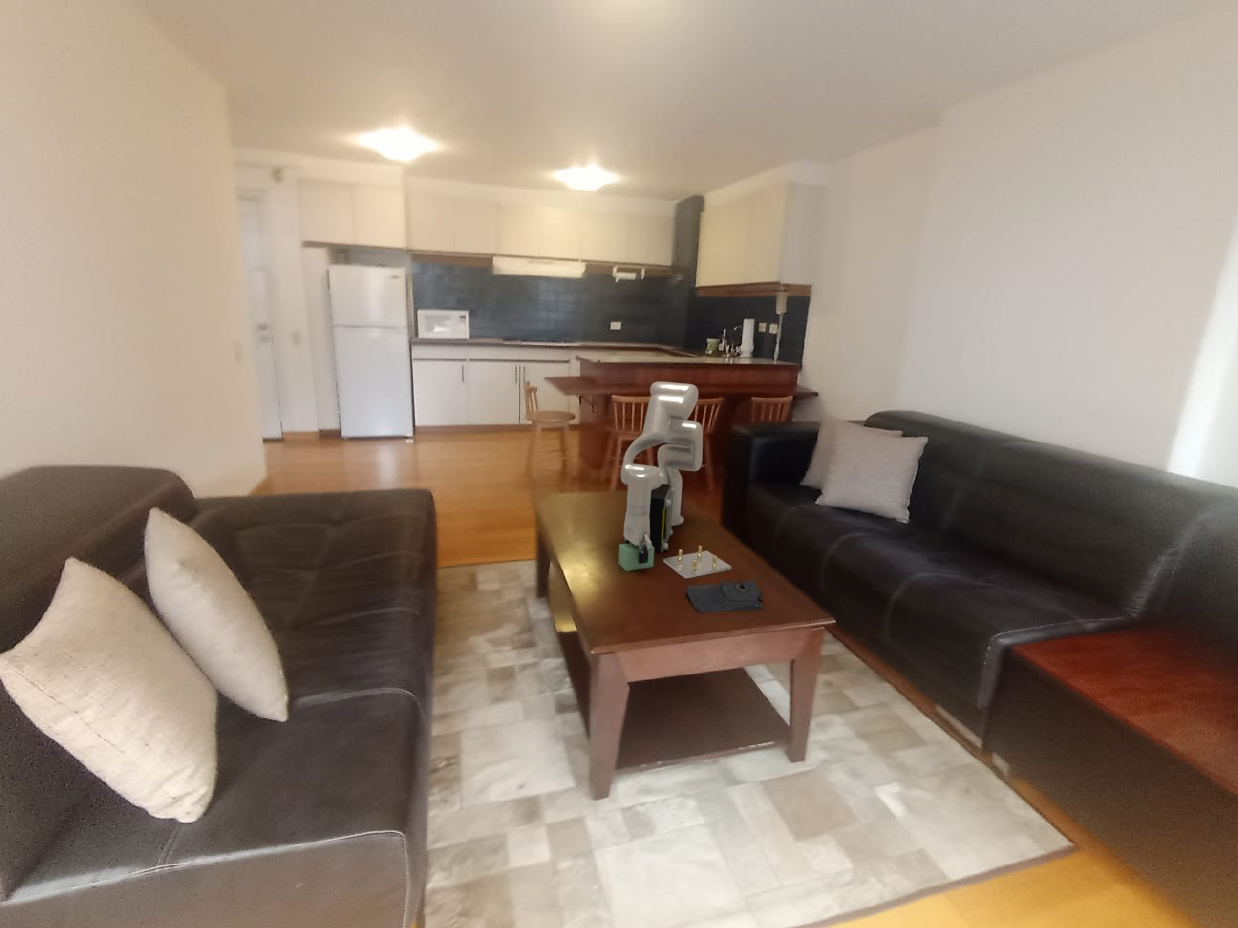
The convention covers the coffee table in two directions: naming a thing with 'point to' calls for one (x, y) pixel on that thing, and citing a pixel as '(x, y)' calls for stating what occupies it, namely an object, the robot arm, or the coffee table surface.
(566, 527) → the coffee table surface
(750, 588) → the dark slate chunk
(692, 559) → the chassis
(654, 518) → the electrical component
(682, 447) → the robot arm
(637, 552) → the green block
